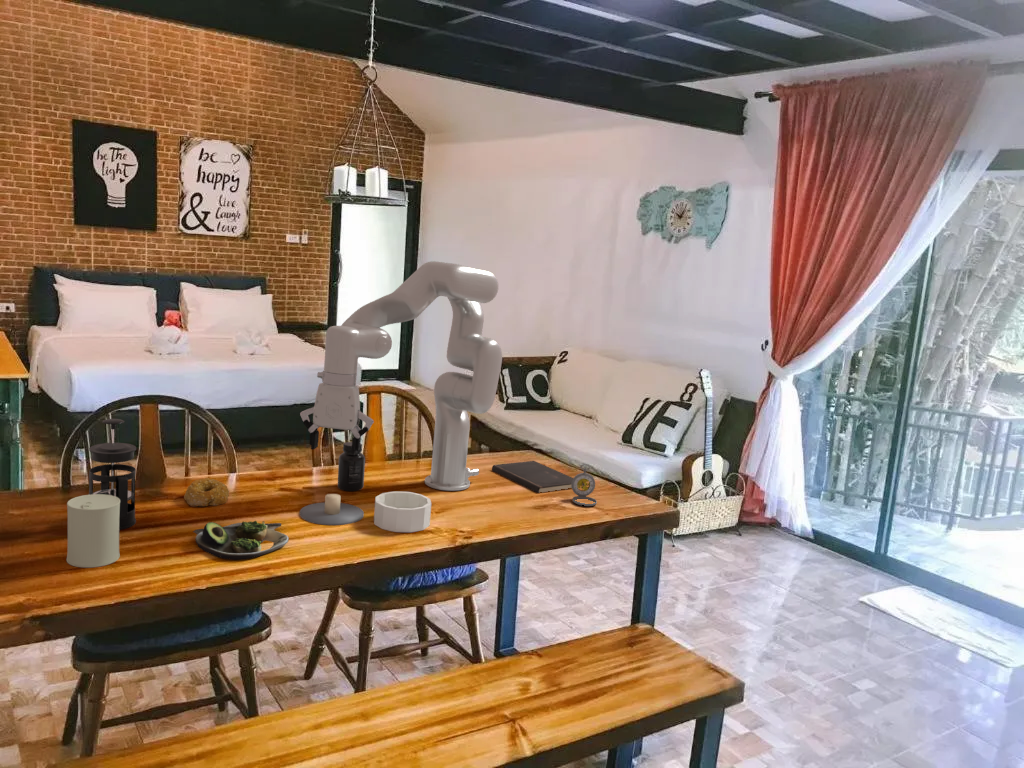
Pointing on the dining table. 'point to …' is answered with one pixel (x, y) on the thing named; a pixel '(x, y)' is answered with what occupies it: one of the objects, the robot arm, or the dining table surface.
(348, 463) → the supplement bottle
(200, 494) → the bagel
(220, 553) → the salad plate
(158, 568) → the dining table surface
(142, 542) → the dining table surface
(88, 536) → the can
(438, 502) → the dining table surface
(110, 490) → the french press
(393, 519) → the bowl
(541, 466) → the hardcover book
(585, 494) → the pocket watch
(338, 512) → the lid
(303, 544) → the dining table surface
